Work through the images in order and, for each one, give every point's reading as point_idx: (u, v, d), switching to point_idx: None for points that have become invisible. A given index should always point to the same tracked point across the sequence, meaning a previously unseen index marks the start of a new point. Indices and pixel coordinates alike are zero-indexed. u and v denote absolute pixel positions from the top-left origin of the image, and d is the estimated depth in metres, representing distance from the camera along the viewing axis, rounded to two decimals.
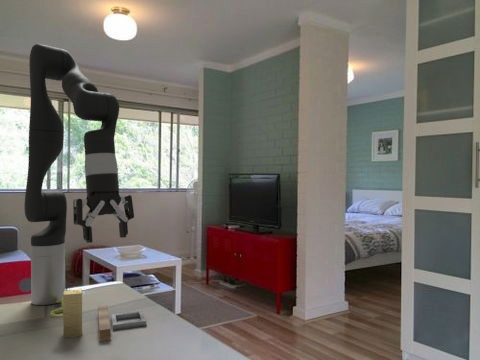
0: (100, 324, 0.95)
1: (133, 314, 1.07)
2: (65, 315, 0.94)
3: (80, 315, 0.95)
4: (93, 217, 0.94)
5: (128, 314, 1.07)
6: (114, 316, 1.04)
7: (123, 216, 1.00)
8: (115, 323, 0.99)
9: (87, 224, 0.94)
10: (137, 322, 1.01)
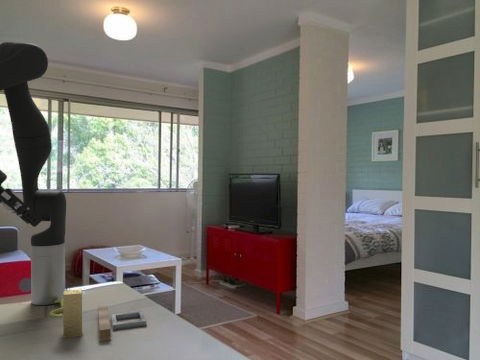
0: (100, 324, 0.95)
1: (133, 314, 1.07)
2: (65, 315, 0.94)
3: (80, 315, 0.95)
4: None
5: (128, 314, 1.07)
6: (114, 316, 1.04)
7: (15, 212, 0.89)
8: (115, 323, 0.99)
9: None
10: (137, 322, 1.01)
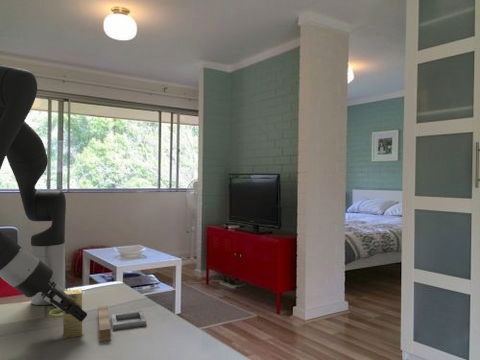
0: (100, 324, 0.95)
1: (133, 314, 1.07)
2: (65, 315, 0.94)
3: None
4: None
5: (128, 314, 1.07)
6: (114, 316, 1.04)
7: None
8: (115, 323, 0.99)
9: None
10: (137, 322, 1.01)
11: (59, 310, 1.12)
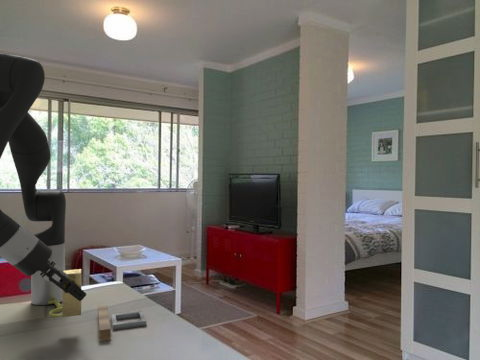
0: (100, 324, 0.95)
1: (133, 314, 1.07)
2: (64, 294, 0.94)
3: None
4: None
5: (128, 314, 1.07)
6: (114, 316, 1.04)
7: None
8: (115, 323, 0.99)
9: None
10: (137, 322, 1.01)
11: (59, 310, 1.12)
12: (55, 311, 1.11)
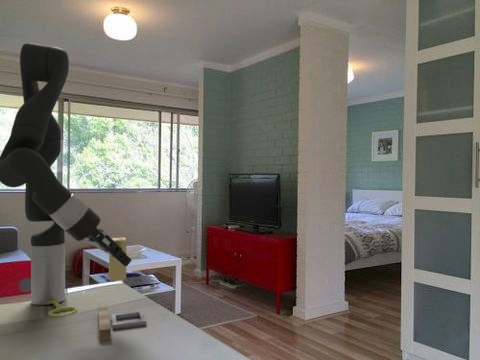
0: (100, 324, 0.95)
1: (133, 314, 1.07)
2: (110, 260, 0.99)
3: None
4: None
5: (128, 314, 1.07)
6: (114, 316, 1.04)
7: (110, 253, 0.98)
8: (115, 323, 0.99)
9: None
10: (137, 322, 1.01)
11: (59, 310, 1.12)
12: (55, 311, 1.11)
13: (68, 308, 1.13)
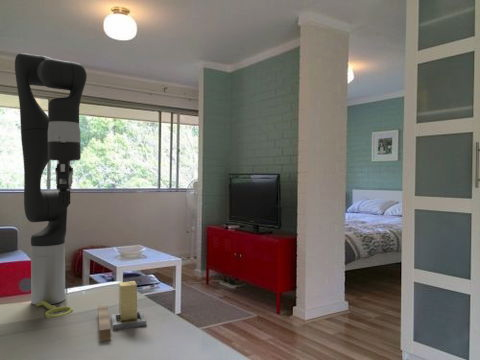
0: (100, 324, 0.95)
1: None
2: (122, 305, 1.01)
3: (135, 305, 1.02)
4: (70, 183, 0.98)
5: None
6: (114, 316, 1.04)
7: (70, 184, 1.05)
8: (115, 323, 0.99)
9: (69, 189, 0.97)
10: (137, 322, 1.01)
11: (54, 311, 1.11)
12: (50, 312, 1.10)
13: (62, 308, 1.13)
